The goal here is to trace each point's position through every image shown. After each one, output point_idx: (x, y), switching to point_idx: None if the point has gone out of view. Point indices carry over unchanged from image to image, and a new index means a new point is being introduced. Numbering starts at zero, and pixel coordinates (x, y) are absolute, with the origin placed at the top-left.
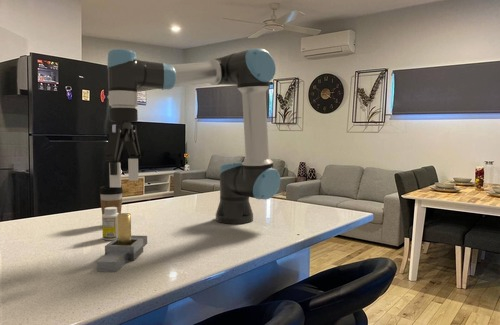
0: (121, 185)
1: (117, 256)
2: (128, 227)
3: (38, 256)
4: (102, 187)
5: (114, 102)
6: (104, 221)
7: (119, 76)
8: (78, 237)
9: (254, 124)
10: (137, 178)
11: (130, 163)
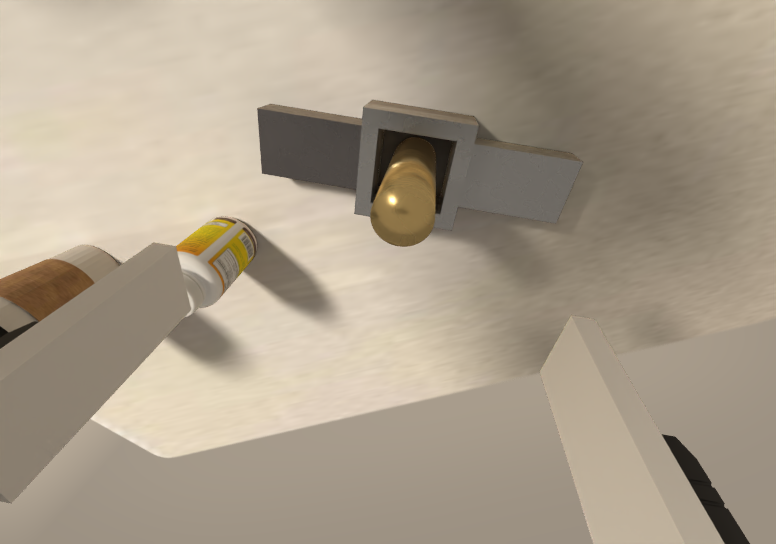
0: None
1: (518, 171)
2: (425, 174)
3: (397, 359)
4: None
5: None
6: (228, 287)
7: None
8: (241, 320)
9: None
10: (163, 257)
11: (58, 426)
